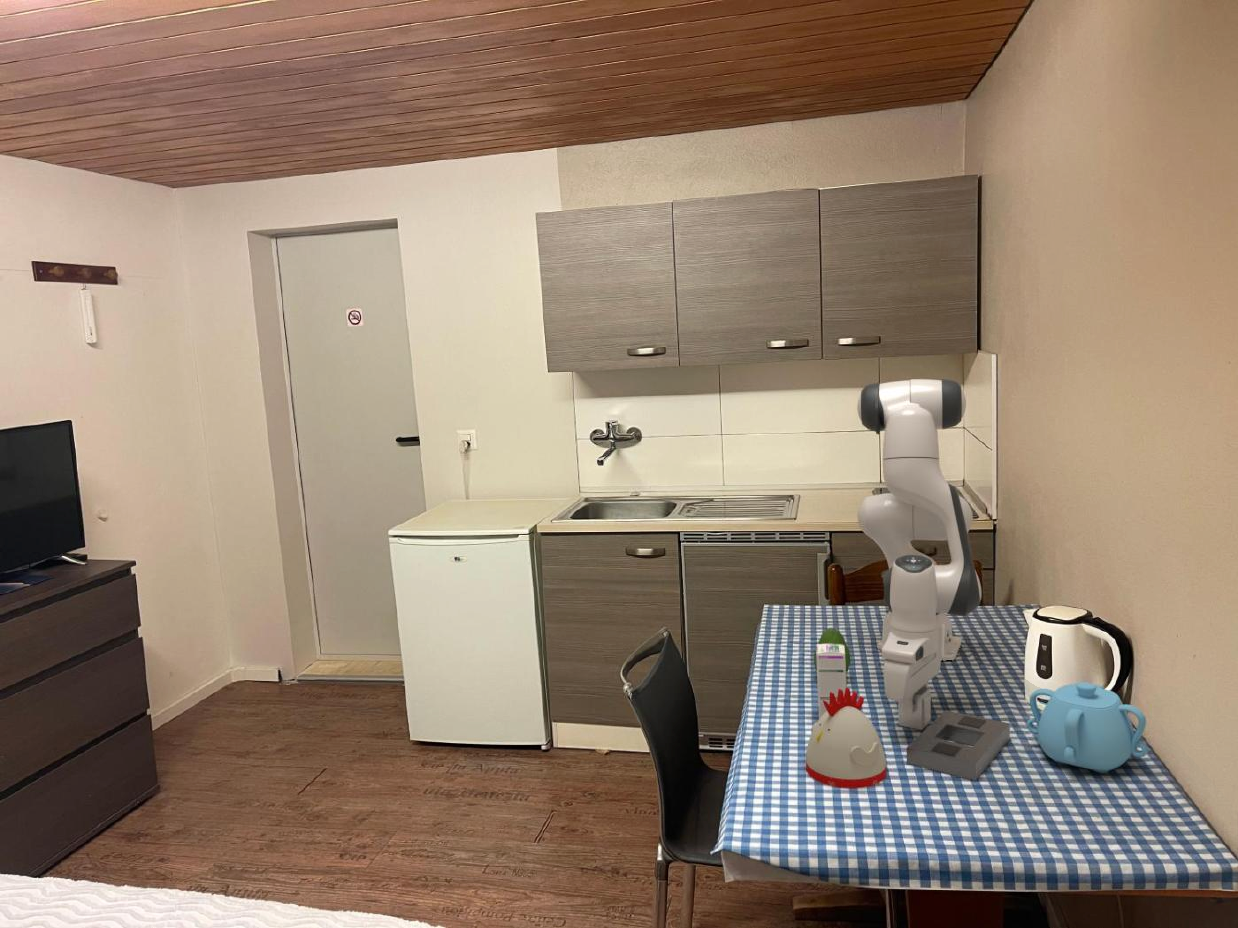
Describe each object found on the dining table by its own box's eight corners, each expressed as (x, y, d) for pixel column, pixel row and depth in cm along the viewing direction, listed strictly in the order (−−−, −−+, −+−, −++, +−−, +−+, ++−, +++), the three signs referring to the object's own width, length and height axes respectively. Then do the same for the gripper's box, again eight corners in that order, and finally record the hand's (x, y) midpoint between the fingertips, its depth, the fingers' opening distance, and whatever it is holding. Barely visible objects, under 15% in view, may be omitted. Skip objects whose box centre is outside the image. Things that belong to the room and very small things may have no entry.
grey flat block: (945, 724, 177) (945, 709, 177) (1009, 738, 170) (1009, 722, 169) (906, 763, 162) (906, 746, 161) (975, 780, 154) (975, 763, 154)
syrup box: (848, 723, 180) (847, 652, 178) (817, 721, 181) (816, 652, 179) (846, 711, 186) (845, 643, 184) (817, 710, 187) (816, 642, 185)
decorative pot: (1156, 779, 152) (1159, 701, 150) (1058, 780, 153) (1060, 703, 151) (1109, 738, 168) (1111, 667, 167) (1020, 739, 169) (1022, 669, 167)
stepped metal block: (905, 716, 181) (905, 683, 180) (932, 722, 178) (932, 688, 177) (897, 724, 178) (896, 690, 177) (923, 730, 175) (923, 695, 174)
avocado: (836, 688, 198) (835, 635, 197) (807, 680, 204) (806, 628, 203) (857, 679, 203) (857, 627, 202) (828, 670, 209) (827, 620, 208)
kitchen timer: (790, 762, 164) (788, 683, 162) (852, 746, 169) (851, 669, 168) (837, 795, 151) (836, 709, 150) (903, 777, 157) (902, 694, 155)
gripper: (917, 623, 186) (918, 688, 188) (877, 652, 170) (878, 722, 172) (948, 628, 182) (948, 694, 184) (910, 658, 166) (911, 729, 168)
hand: (914, 708), depth 178 cm, fingers closed on stepped metal block, 4 cm apart
